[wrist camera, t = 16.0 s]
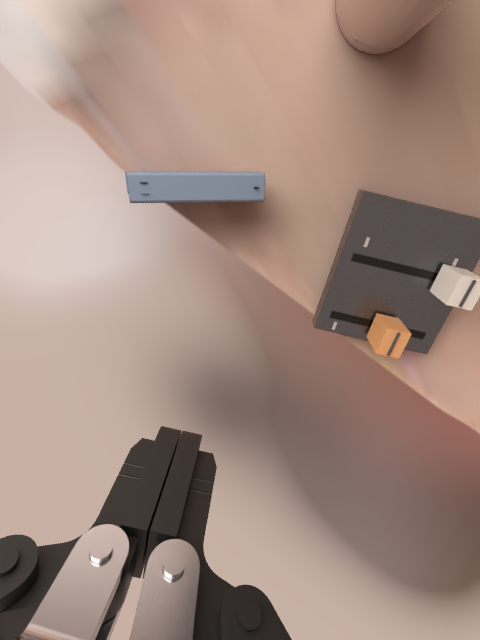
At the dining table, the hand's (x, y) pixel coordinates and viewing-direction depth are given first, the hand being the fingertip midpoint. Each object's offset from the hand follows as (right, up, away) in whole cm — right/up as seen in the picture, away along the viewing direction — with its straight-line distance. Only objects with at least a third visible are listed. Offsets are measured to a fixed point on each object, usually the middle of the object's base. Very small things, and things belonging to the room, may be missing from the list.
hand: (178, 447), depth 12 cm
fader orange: (+21, +4, +32) cm, 39 cm away
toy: (-3, +22, +29) cm, 36 cm away
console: (+22, +10, +32) cm, 40 cm away
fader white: (+28, +9, +29) cm, 41 cm away
